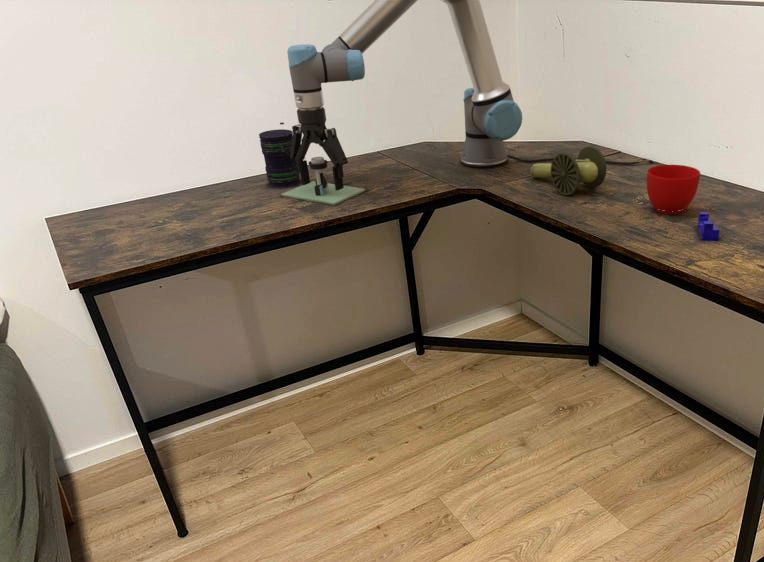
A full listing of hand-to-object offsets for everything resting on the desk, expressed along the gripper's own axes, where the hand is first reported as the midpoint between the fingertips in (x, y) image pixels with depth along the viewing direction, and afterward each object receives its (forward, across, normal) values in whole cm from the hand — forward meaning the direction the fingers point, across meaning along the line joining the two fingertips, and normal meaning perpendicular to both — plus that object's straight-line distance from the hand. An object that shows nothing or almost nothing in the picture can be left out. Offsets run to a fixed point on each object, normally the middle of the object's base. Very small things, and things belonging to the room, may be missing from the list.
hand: (322, 186), depth 194 cm
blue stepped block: (+3, +106, +14) cm, 107 cm away
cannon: (+3, +60, +35) cm, 70 cm away
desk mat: (+2, -1, +1) cm, 3 cm away
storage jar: (+3, -19, +4) cm, 20 cm away
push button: (+2, 0, 0) cm, 2 cm away
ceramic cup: (+3, +93, +29) cm, 97 cm away
